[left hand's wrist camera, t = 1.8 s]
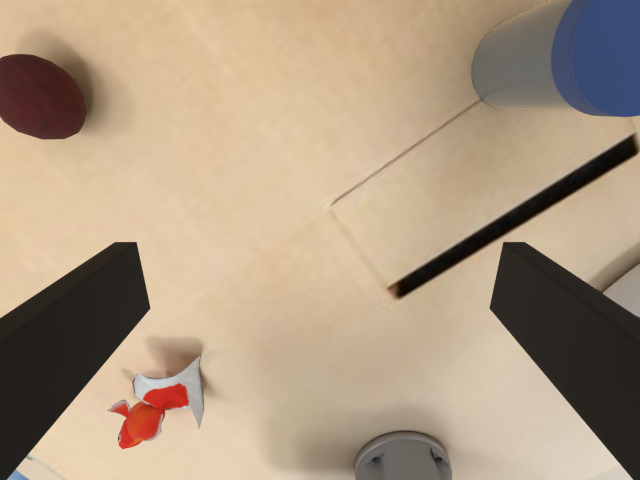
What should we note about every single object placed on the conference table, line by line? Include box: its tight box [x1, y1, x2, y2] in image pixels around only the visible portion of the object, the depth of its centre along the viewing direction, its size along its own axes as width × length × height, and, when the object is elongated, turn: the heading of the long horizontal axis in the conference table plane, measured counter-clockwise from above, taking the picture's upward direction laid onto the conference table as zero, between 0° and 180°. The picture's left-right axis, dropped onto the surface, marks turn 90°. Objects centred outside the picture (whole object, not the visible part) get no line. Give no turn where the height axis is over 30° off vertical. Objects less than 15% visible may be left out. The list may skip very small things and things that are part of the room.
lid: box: [551, 0, 640, 117], centre depth 21 cm, size 9×9×2 cm
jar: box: [472, 0, 578, 111], centre depth 28 cm, size 8×8×15 cm
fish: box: [108, 355, 204, 449], centre depth 46 cm, size 11×16×10 cm
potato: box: [0, 54, 86, 139], centre depth 33 cm, size 7×8×7 cm
